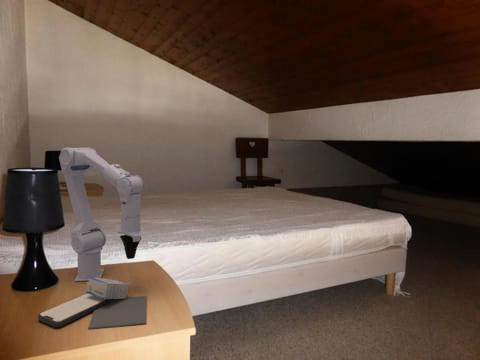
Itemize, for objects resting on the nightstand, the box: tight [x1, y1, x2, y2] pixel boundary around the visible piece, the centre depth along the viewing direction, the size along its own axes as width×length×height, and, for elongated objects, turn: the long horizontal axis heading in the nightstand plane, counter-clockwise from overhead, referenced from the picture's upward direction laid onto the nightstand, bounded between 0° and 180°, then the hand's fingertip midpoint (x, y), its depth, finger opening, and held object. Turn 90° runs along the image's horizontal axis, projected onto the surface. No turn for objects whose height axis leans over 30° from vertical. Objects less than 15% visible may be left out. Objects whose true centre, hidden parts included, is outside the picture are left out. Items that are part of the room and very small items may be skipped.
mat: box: [87, 295, 148, 330], centre depth 98 cm, size 16×14×1 cm
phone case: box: [37, 293, 107, 328], centre depth 97 cm, size 9×2×16 cm
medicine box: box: [85, 278, 130, 299], centre depth 104 cm, size 8×4×9 cm
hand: (130, 258), depth 111 cm, fingers closed
